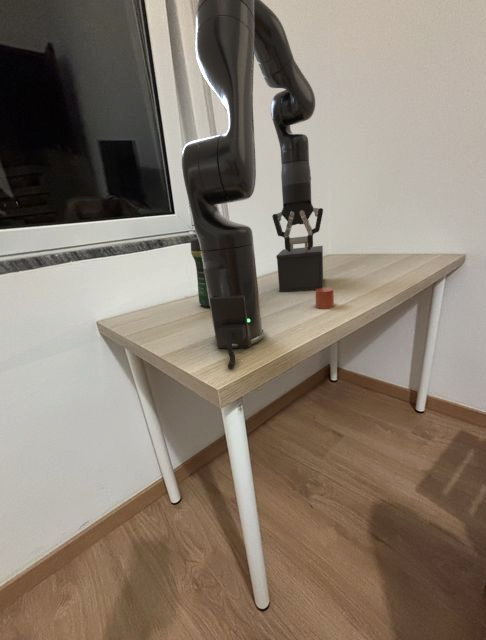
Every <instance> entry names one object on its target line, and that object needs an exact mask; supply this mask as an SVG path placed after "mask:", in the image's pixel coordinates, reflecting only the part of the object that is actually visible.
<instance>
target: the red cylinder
mask: <svg viewBox="0 0 486 640" xmlns="http://www.w3.org/2000/svg"><path fill="white" fill-rule="evenodd" d="M314 293H315V294H314V295H315V296H314V297H315V308H317V309H323V310H326V309H331V308H333V307H334V306H335V289H334V288H332V287H323V288H319V289H316V290H314Z"/></svg>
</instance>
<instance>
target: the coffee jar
mask: <svg viewBox="0 0 486 640" xmlns="http://www.w3.org/2000/svg"><path fill="white" fill-rule="evenodd" d="M190 254H191V256H192V258H193V260H194V263H195V269H196V279H197V294H198V302H199V304H200V305H201V306H202V307H205V308H206V307H210V303H209V297H208V291H207V285H206V279H205V273H204V267H203V261H202V255H201V249H200V244H199V240H198V237H197V236H196V237H192V238H191V239H190Z"/></svg>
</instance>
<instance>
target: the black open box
mask: <svg viewBox="0 0 486 640" xmlns="http://www.w3.org/2000/svg"><path fill="white" fill-rule="evenodd" d="M276 263H277V264H276V265H277V276H278V277H277V278H278V290H279V292H280V293H284V292H300V291H315V290H316V289H319V288H324V249H323V250H322V255H311V256H300V257H289V258H278V259H277V258H276Z"/></svg>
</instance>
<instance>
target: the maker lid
mask: <svg viewBox="0 0 486 640" xmlns="http://www.w3.org/2000/svg"><path fill="white" fill-rule="evenodd" d="M307 236H308V235H306V236H297V237H296V236H295V237H290V246H291V251H290V252H288V250H286V249H285V248H284V249H282V250H281V251H280V252H279V253H278V254H276V260H277V259H278V258H289V257H300V256H311V255H322V250H323V251H324V249H323V248H324V247H323V245H317V246H313V247H311V250H308V239H307ZM301 244H304V247H294V245H301Z"/></svg>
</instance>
